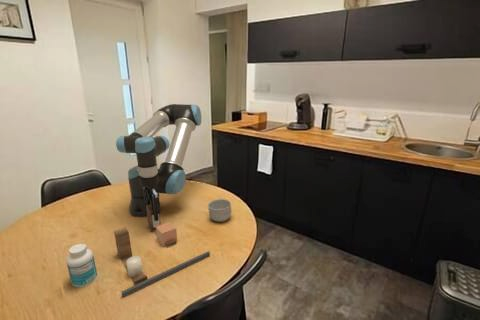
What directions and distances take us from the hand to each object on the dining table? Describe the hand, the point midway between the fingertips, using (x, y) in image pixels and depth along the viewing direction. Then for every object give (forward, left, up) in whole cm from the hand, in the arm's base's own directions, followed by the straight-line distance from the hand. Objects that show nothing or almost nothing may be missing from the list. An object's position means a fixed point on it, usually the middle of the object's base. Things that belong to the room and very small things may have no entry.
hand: (154, 223), depth 116 cm
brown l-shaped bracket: (+20, -16, -3) cm, 26 cm away
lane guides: (+20, -7, -3) cm, 22 cm away
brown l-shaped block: (+8, 0, -3) cm, 8 cm away
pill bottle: (+17, -30, -3) cm, 34 cm away
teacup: (+10, +29, -3) cm, 31 cm away
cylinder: (+24, -16, -1) cm, 29 cm away
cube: (+14, 0, -1) cm, 14 cm away
